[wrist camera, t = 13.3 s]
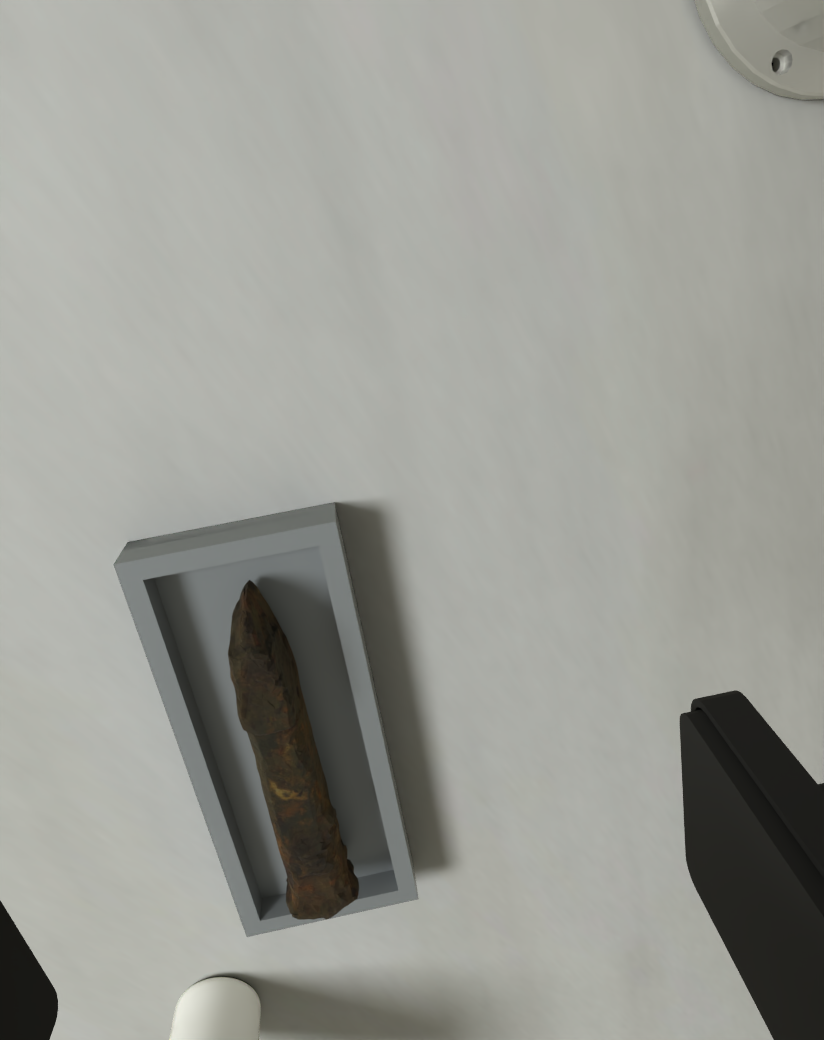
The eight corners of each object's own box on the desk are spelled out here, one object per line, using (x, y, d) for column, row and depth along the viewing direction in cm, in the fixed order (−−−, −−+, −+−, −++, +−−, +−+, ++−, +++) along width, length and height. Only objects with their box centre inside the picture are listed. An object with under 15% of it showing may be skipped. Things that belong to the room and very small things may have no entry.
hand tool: (357, 858, 42) (362, 929, 37) (288, 870, 41) (285, 943, 37) (307, 566, 35) (305, 612, 30) (223, 578, 34) (210, 627, 30)
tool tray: (334, 502, 35) (335, 521, 32) (413, 864, 44) (418, 899, 41) (127, 542, 34) (113, 564, 32) (250, 899, 43) (246, 937, 41)
